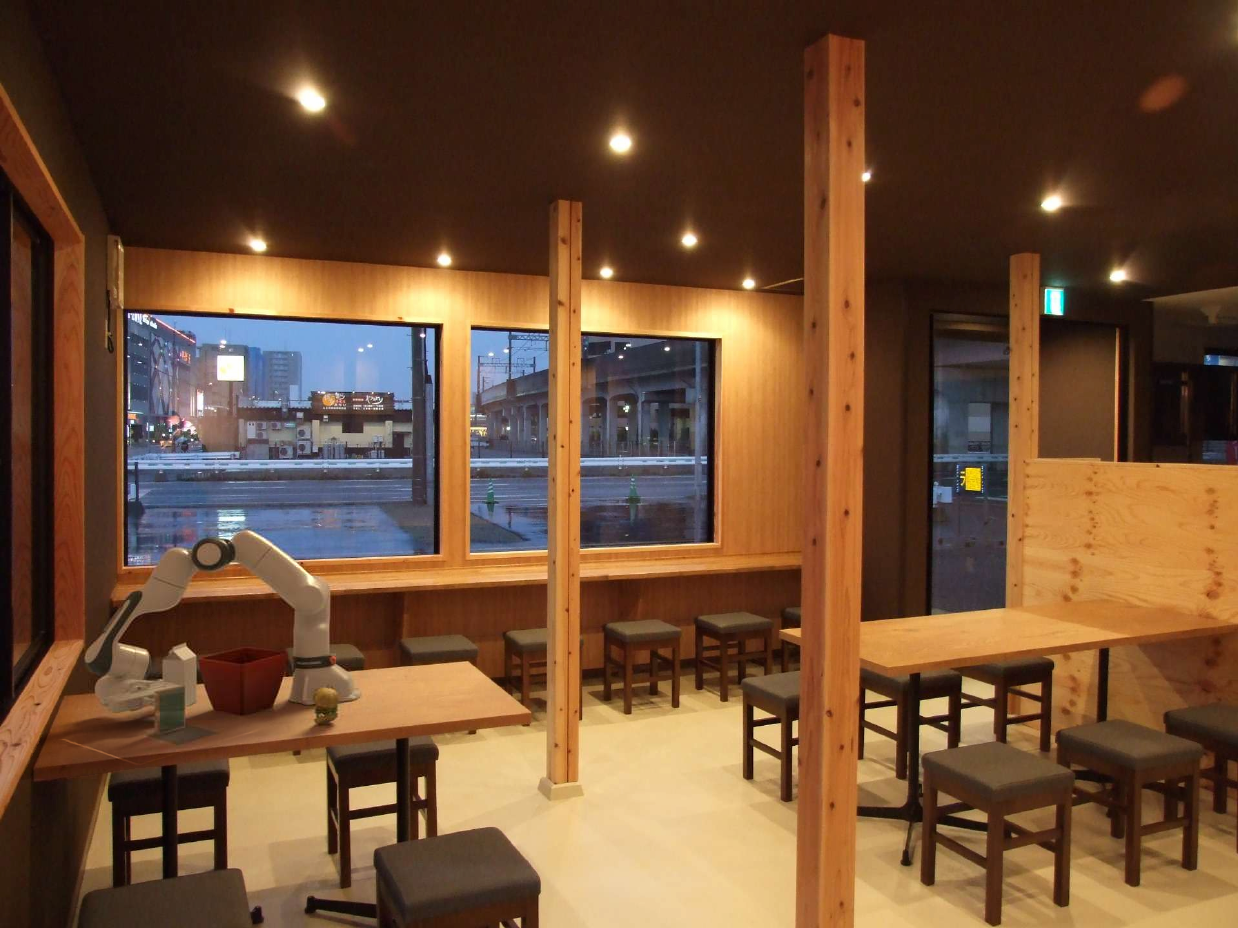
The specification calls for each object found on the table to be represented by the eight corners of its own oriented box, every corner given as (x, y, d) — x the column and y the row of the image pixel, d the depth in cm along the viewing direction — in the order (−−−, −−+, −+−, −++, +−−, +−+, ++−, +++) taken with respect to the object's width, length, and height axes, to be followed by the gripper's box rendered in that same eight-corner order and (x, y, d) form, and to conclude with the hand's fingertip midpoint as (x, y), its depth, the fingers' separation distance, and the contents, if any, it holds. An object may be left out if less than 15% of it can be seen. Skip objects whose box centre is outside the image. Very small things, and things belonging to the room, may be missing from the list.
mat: (145, 736, 257) (145, 734, 257) (185, 725, 267) (185, 724, 267) (177, 745, 248) (177, 744, 248) (218, 734, 258) (218, 732, 258)
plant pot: (290, 704, 289) (290, 651, 289) (242, 720, 272) (242, 664, 272) (246, 697, 297) (245, 646, 297) (196, 713, 280) (196, 658, 280)
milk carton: (196, 702, 292) (196, 642, 292) (184, 708, 285) (183, 647, 285) (175, 701, 293) (175, 642, 293) (162, 707, 286) (162, 647, 286)
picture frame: (154, 733, 258) (154, 691, 258) (181, 726, 265) (181, 685, 265) (158, 734, 257) (158, 692, 257) (185, 727, 264) (185, 686, 263)
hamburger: (330, 719, 273) (330, 679, 273) (344, 723, 268) (344, 682, 268) (307, 725, 267) (307, 684, 267) (321, 729, 262) (321, 688, 262)
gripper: (97, 691, 263) (123, 699, 255) (166, 677, 280) (192, 684, 272) (97, 713, 263) (123, 721, 255) (166, 698, 280) (192, 705, 272)
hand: (159, 702), depth 264 cm, fingers closed
